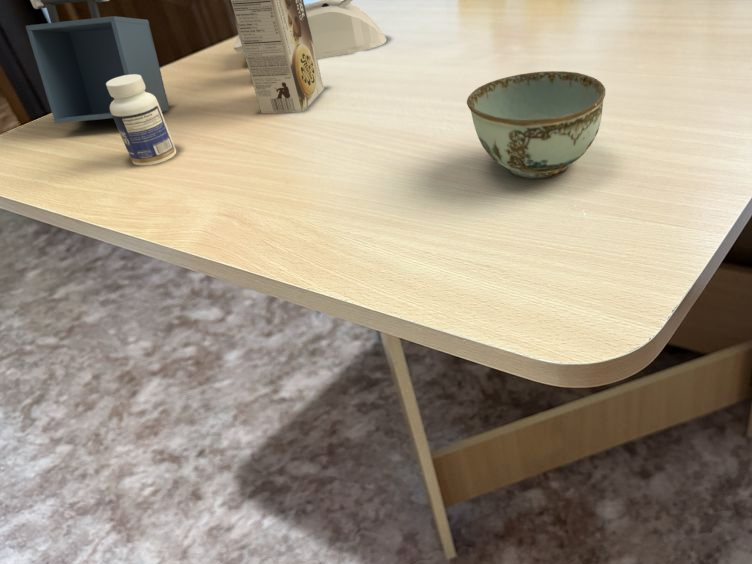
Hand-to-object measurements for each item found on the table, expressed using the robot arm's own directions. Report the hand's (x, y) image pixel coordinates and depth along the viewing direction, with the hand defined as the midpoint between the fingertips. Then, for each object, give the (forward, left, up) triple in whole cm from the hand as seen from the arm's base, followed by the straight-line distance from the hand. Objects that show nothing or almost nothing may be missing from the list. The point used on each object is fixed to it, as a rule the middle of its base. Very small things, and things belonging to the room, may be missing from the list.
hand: (74, 4), depth 89 cm
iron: (+23, +26, -16) cm, 38 cm away
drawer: (0, +5, -8) cm, 9 cm away
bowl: (+58, -27, -16) cm, 66 cm away
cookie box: (+25, +1, -16) cm, 29 cm away
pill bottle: (+11, -15, -16) cm, 24 cm away
